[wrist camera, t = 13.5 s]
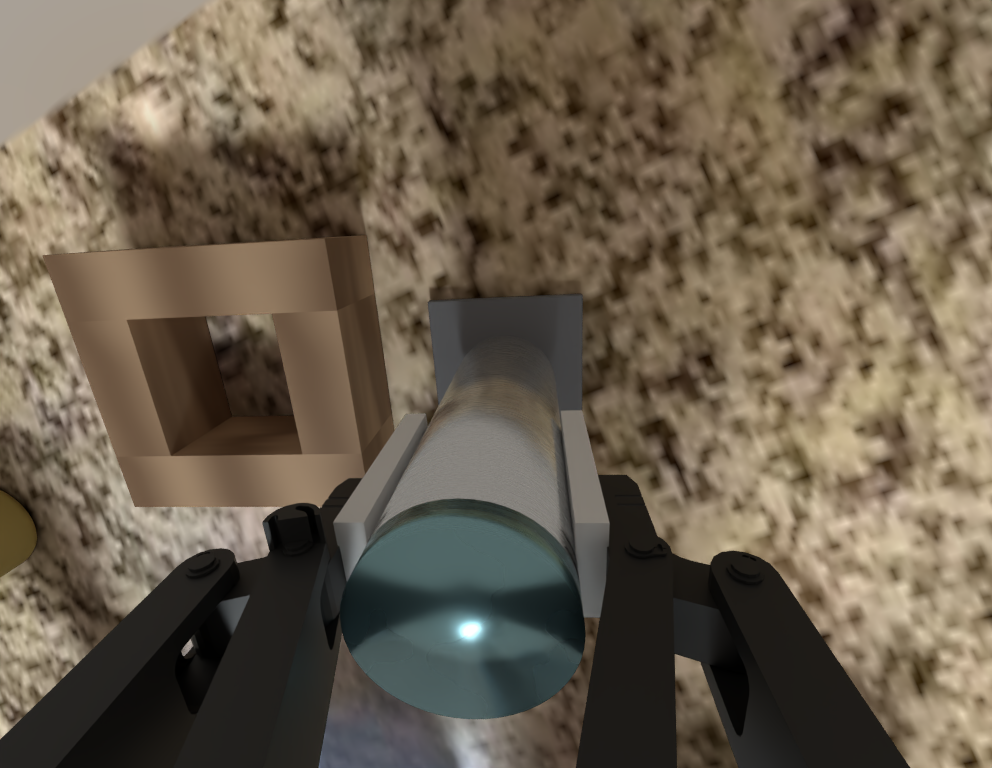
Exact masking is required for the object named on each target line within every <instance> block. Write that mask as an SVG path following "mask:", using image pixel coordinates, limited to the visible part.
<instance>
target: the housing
mask: <svg viewBox="0 0 992 768" xmlns="http://www.w3.org/2000/svg"><path fill="white" fill-rule="evenodd" d="M43 258H44V261H45V264H46V266H47V269H48V272H49V274H50V277H51V280H52V283H53V285H54V288H55V291H56V293H57V296H58V299H59V302H60V304H61V307H62V310H63V312H64V315H65V318H66V321H67V323H68V326H69V329H70V332H71V334H72V337H73V340H74V342H75V345H76V348H77V351H78V353H79V356H80V359H81V361H82V364H83V367H84V370H85V372H86V375H87V378H88V381H89V383H90V386H91V389H92V391H93V394H94V397H95V400H96V402H97V405H98V408H99V410H100V413H101V416H102V419H103V421H104V424H105V427H106V429H107V432H108V435H109V438H110V440H111V443H112V446H113V449H114V451H115V454H116V457H117V459H118V462H119V465H120V468H121V470H122V473H123V476H124V478H125V481H126V484H127V487H128V489H129V492H130V495H131V497H132V500H133V503H134V506H135V507H285V506H287V505H292V504H296V503H311V504H315V505H316V506H317V507H322V505H323V503H324V502H325V501H326V499H328V497H329V496H330V494H331V493H332V492H333V490H334V489H335V488H336V487H337V486H338V485H340V484H341V483H342V482H344V481H345V480H347V479H348V478H363V477H364V476H365V474H366V473H367V471H368V470H369V468H370V467H371V465H372V464H373V462H374V461H375V459H376V458H377V456H378V455H379V453H380V452H381V450H382V449H383V447H384V446H385V444H386V443H387V441H388V440H389V438H390V437H391V435H392V434H393V432H394V426H393V419H392V412H391V405H390V398H389V391H388V384H387V377H386V370H385V363H384V356H383V349H382V342H381V335H380V328H379V321H378V314H377V307H376V300H375V293H374V286H373V279H372V272H371V265H370V258H369V251H368V244H367V237H366V235H359V236H343V237H326V238H309V239H292V240H275V241H258V242H241V243H224V244H207V245H190V246H173V247H156V248H140V249H125V250H111V251H97V252H83V253H69V254H55V255H43ZM271 313H272V317H273V321H274V326H275V330H276V335H277V339H278V344H279V349H280V353H281V358H282V362H283V367H284V372H285V376H286V381H287V385H288V390H289V394H290V399H291V404H292V408H293V413H294V415H290V416H242V417H232V416H231V412H230V408H229V405H228V401H227V397H226V393H225V390H224V386H223V382H222V378H221V375H220V371H219V367H218V363H217V360H216V356H215V352H214V348H213V345H212V341H211V337H210V333H209V330H208V326H207V322H206V318H205V316H224V315H247V314H271Z"/></svg>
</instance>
